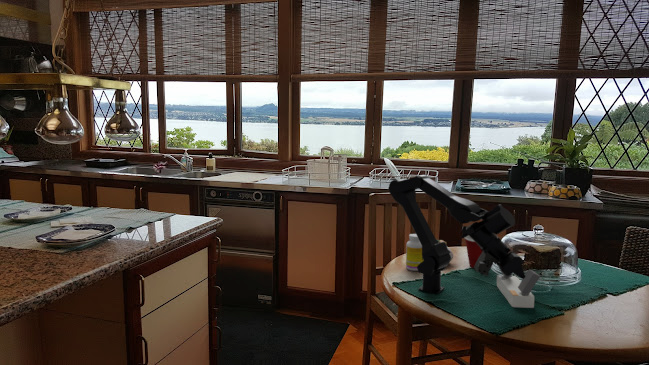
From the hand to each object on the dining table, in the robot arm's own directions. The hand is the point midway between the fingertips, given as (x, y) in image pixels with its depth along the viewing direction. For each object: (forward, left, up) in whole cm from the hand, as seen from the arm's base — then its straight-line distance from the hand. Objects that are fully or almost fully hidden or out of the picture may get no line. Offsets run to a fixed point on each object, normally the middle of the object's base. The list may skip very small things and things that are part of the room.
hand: (523, 277), depth 131 cm
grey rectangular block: (0, 0, -5) cm, 5 cm away
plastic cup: (+29, +23, -9) cm, 38 cm away
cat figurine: (+26, +39, -9) cm, 48 cm away
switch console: (+6, +4, -8) cm, 11 cm away
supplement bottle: (+13, +41, -9) cm, 44 cm away
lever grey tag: (+12, +7, -5) cm, 15 cm away
